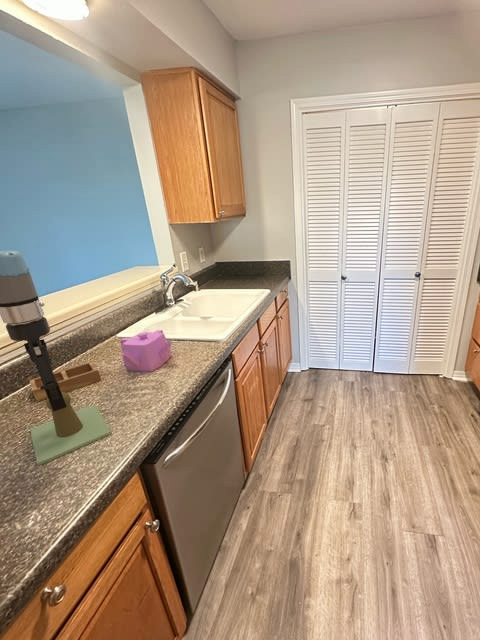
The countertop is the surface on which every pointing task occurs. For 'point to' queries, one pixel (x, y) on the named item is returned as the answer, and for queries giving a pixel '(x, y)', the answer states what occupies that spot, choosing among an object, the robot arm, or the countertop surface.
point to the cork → (65, 418)
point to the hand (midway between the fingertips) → (55, 397)
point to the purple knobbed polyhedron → (145, 351)
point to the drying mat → (54, 446)
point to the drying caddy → (68, 379)
